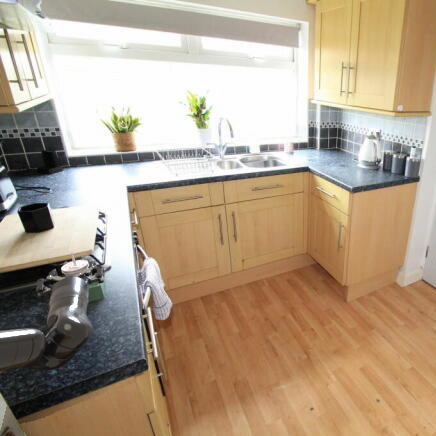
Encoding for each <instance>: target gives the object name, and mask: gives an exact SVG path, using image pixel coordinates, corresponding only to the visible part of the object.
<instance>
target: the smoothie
mask: <svg viewBox="0 0 436 436" xmlns="http://www.w3.org/2000/svg"><path fill="white" fill-rule="evenodd" d="M69 255H70V258H71V260H72V261H69V262H67V263H65V264H63V265H62V266H61V268H60V271H61V273H62V274H63V275H64V277H67V276H73V275H76V274H79V273H80V272H82V271H83V270H87V269H88V268H89V266H90V263H89V261H88V260H86V259H75V256H74V253H73V252H72V251H71V252H69ZM89 287H91V285H90V286H89Z"/></svg>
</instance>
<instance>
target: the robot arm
mask: <svg viewBox="0 0 436 436" xmlns="http://www.w3.org/2000/svg"><path fill="white" fill-rule="evenodd" d="M97 265H98V264H97V262H96V261H93V260H91V261H89V266H88V269H87V270H83V271H82V272H80V273H79V274H76V275H73V276H67V277H66V276H63V277H62V276H59V275H58V272H57V269H56V268H54V269H52V270H51V271H50V272H48V275H47V276H46V278H45V279H44V278H39V279H37V281H36V287H35V291H36V295H37V296H38V298H39V299H43V298H45V297H46V296H47V295H48V294H50V295H49V296H50V297H49V301H48V311H47V316H46V327H47V329H48V330H49V331H47V333H46V334H44V332H43V331H41V330H40V329H38V328H34V327H24V328H13V329H4V330H3V329H1V330H0V374H3V373H7V372H12V371H18V370H33V371H35V370H37V371H54V370H55V371H56V370H58V369H60V368H62V367H64V366H66V365H67V364H69V363H70V362H71V361H72V360H73V359H74V358H75V357H76V355H78V353H79V352H80V351H81V350H82V349H83V348H84V347H85V345H87V343H88V342H89V341H90V339H91V338H92V336H93V334H94V326H93V323H92V322H91V320H90V318H89V317H88V315H87V308H88V306H89V302H88V301H89V286H90V285H91V283H93V282H98V283H99V284H101V283H103V282H104V283H105V277H106V272H105V268H104V265H103V264H100V265H98V266H97ZM91 273H92V274H91ZM48 286H50V287H48Z"/></svg>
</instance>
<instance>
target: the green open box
mask: <svg viewBox="0 0 436 436" xmlns="http://www.w3.org/2000/svg"><path fill="white" fill-rule="evenodd" d="M91 274H92V273H91ZM105 297H106V296H105V281H104V282H103V283H101V284H99V283H98V282H93V283H91V287H89V301H88V303H91V302H95V301H98V300H102V299H105Z"/></svg>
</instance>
